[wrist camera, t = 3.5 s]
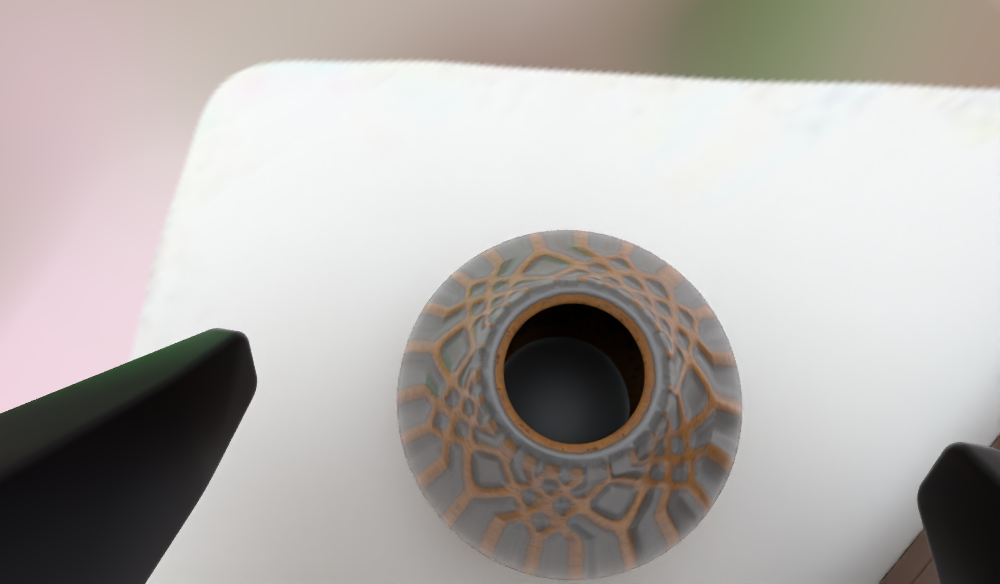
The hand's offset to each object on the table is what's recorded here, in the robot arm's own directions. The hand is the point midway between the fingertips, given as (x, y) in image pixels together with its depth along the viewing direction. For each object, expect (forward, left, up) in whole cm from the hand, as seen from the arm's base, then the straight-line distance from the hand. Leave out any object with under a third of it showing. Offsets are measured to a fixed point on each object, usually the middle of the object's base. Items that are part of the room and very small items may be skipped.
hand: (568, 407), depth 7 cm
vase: (0, 0, -8) cm, 9 cm away
